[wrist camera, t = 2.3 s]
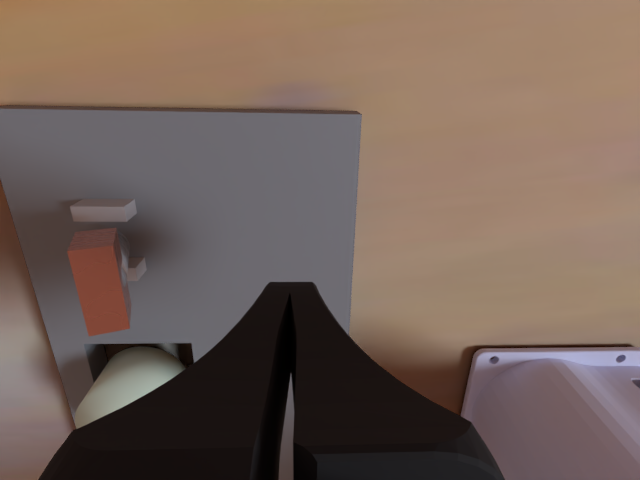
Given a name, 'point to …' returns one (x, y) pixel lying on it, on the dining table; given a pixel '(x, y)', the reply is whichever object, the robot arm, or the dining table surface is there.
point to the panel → (181, 218)
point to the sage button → (127, 381)
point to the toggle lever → (102, 279)
